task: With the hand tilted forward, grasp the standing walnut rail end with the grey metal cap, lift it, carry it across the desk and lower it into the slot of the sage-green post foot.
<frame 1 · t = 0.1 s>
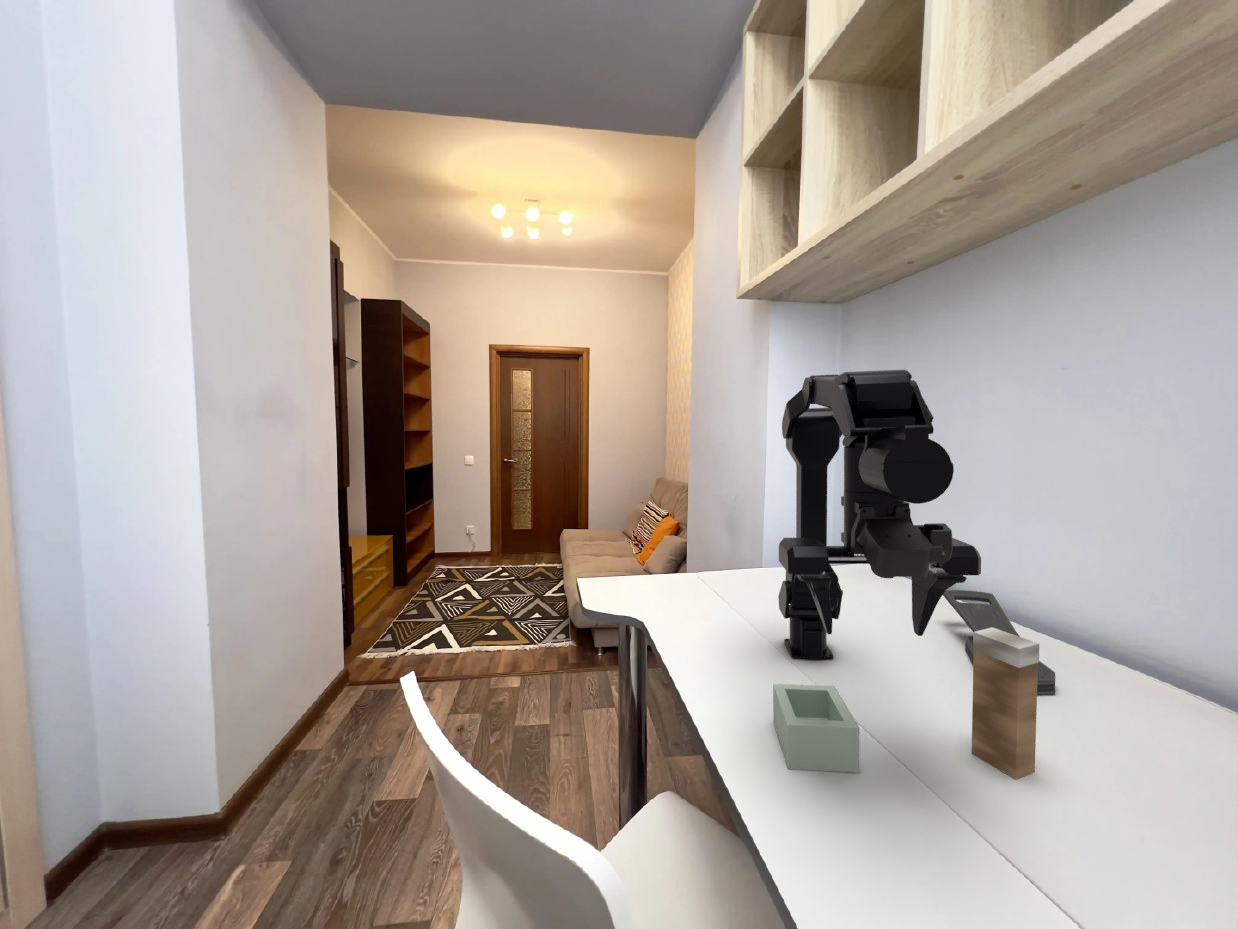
hand: (872, 633, 55), 15 cm above the table, tool pointing down, fingers open, 9 cm apart
post foot: (812, 745, 59), on the table
rail end: (1002, 762, 55), on the table
zipper pull: (991, 656, 80), on the table
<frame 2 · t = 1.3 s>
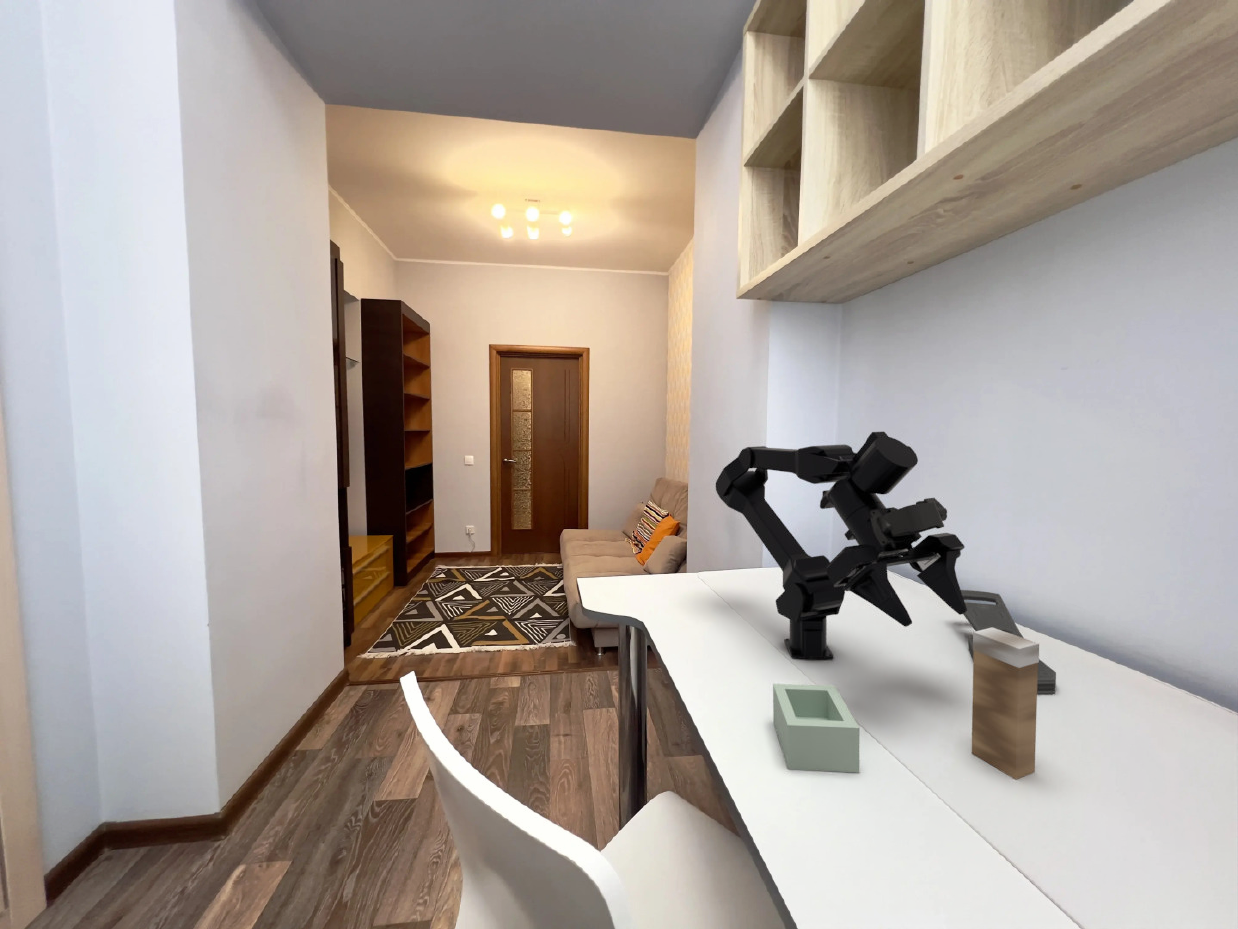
hand: (937, 618, 62), 13 cm above the table, tool tilted 45°, fingers open, 9 cm apart
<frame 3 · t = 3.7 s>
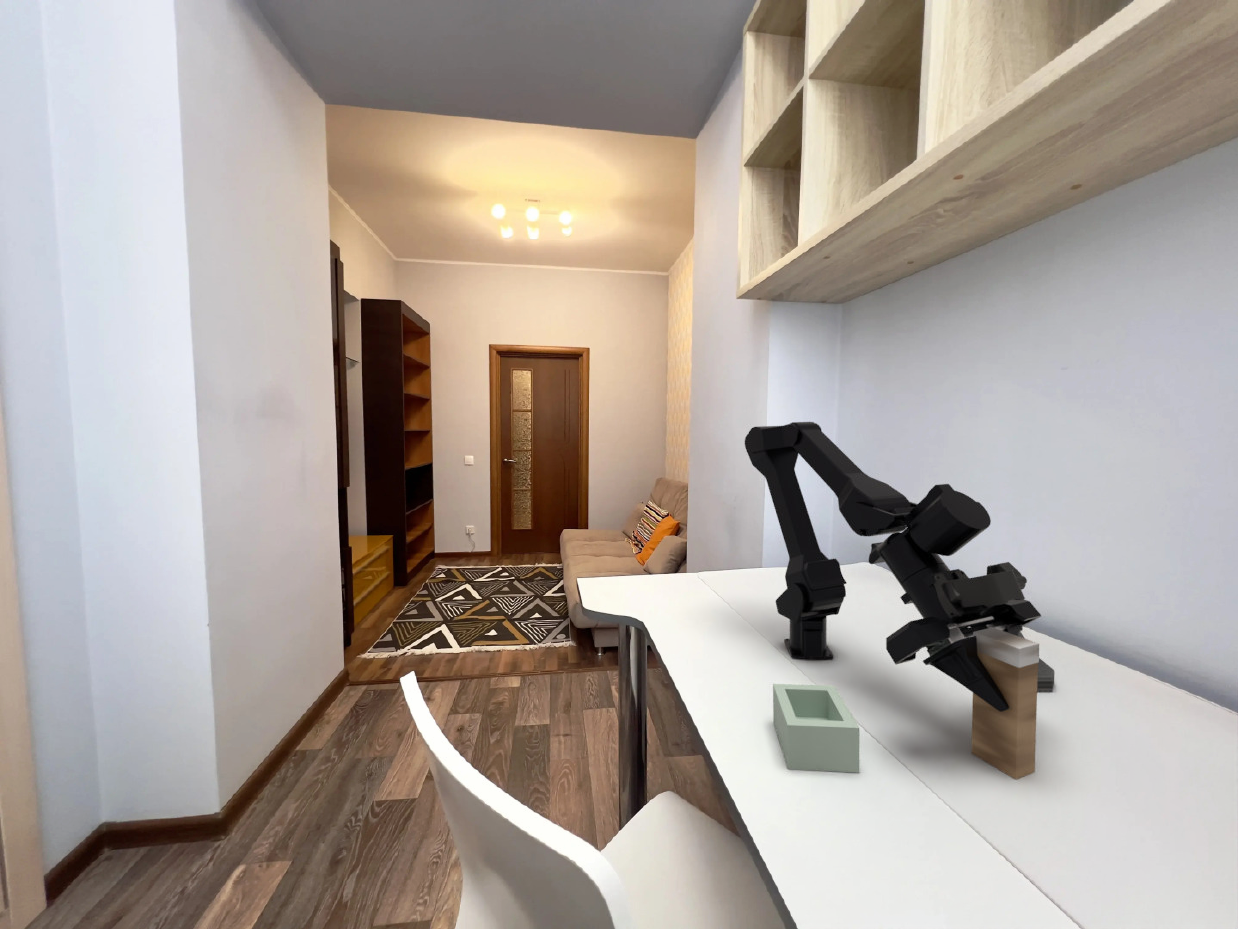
hand: (1017, 706, 53), 7 cm above the table, tool tilted 45°, fingers open, 4 cm apart
rail end: (1002, 762, 55), on the table, touching gripper
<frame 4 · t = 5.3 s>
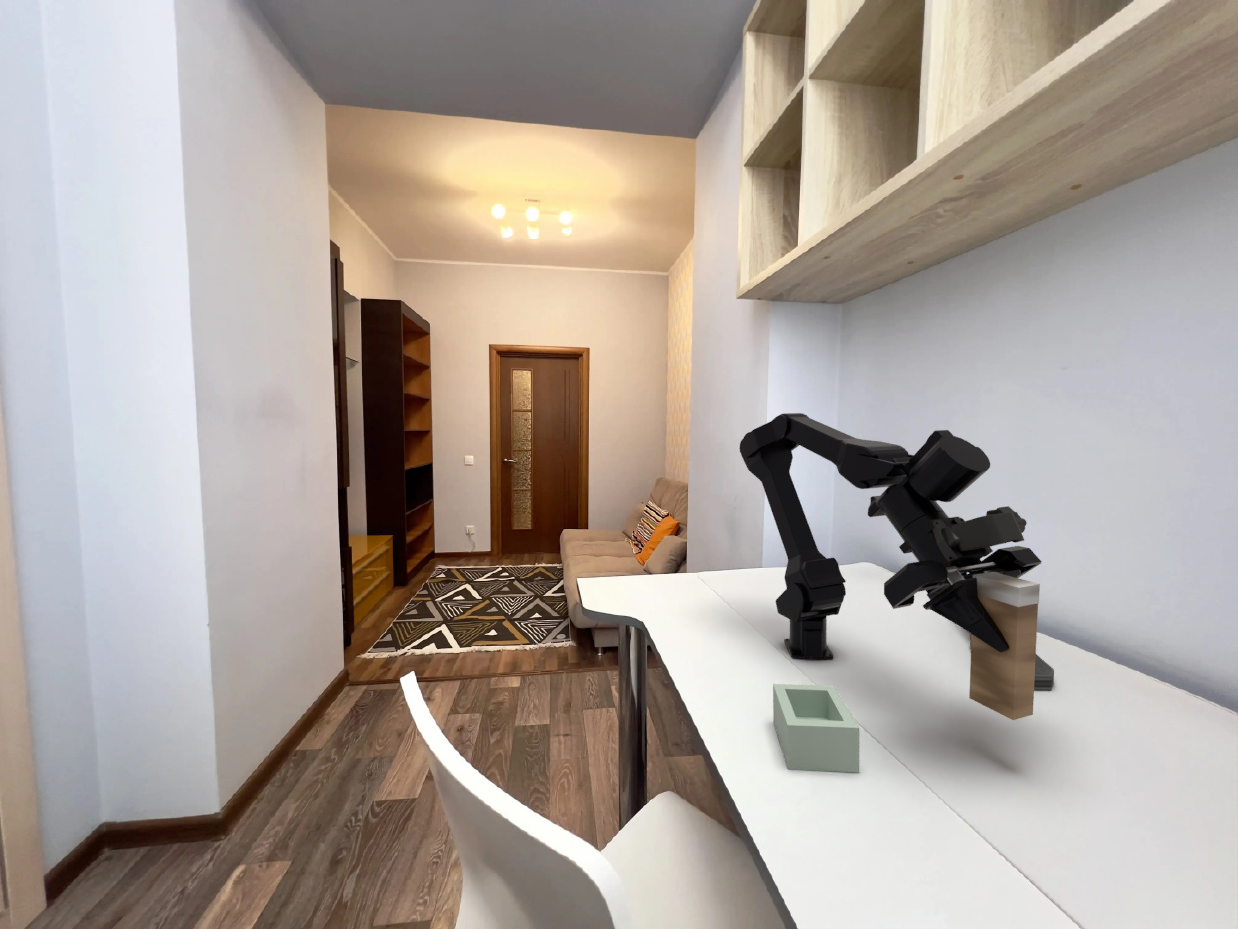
hand: (1016, 647, 53), 13 cm above the table, tool tilted 45°, fingers closed on rail end, 3 cm apart
rail end: (1000, 706, 55), point 6 cm above the table, touching gripper
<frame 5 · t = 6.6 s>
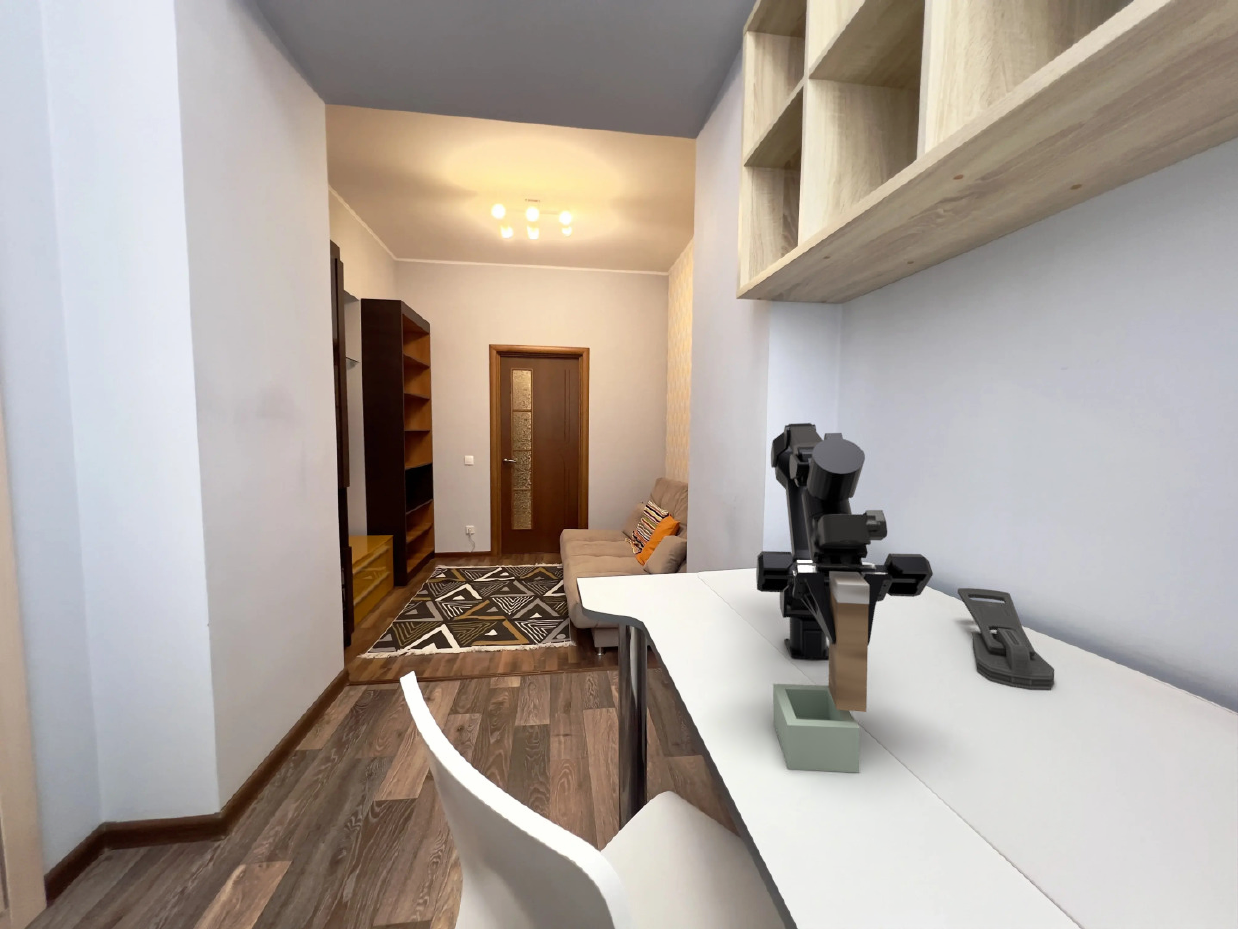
hand: (850, 643, 55), 13 cm above the table, tool tilted 45°, fingers closed on rail end, 3 cm apart
rail end: (846, 699, 57), point 6 cm above the table, touching gripper
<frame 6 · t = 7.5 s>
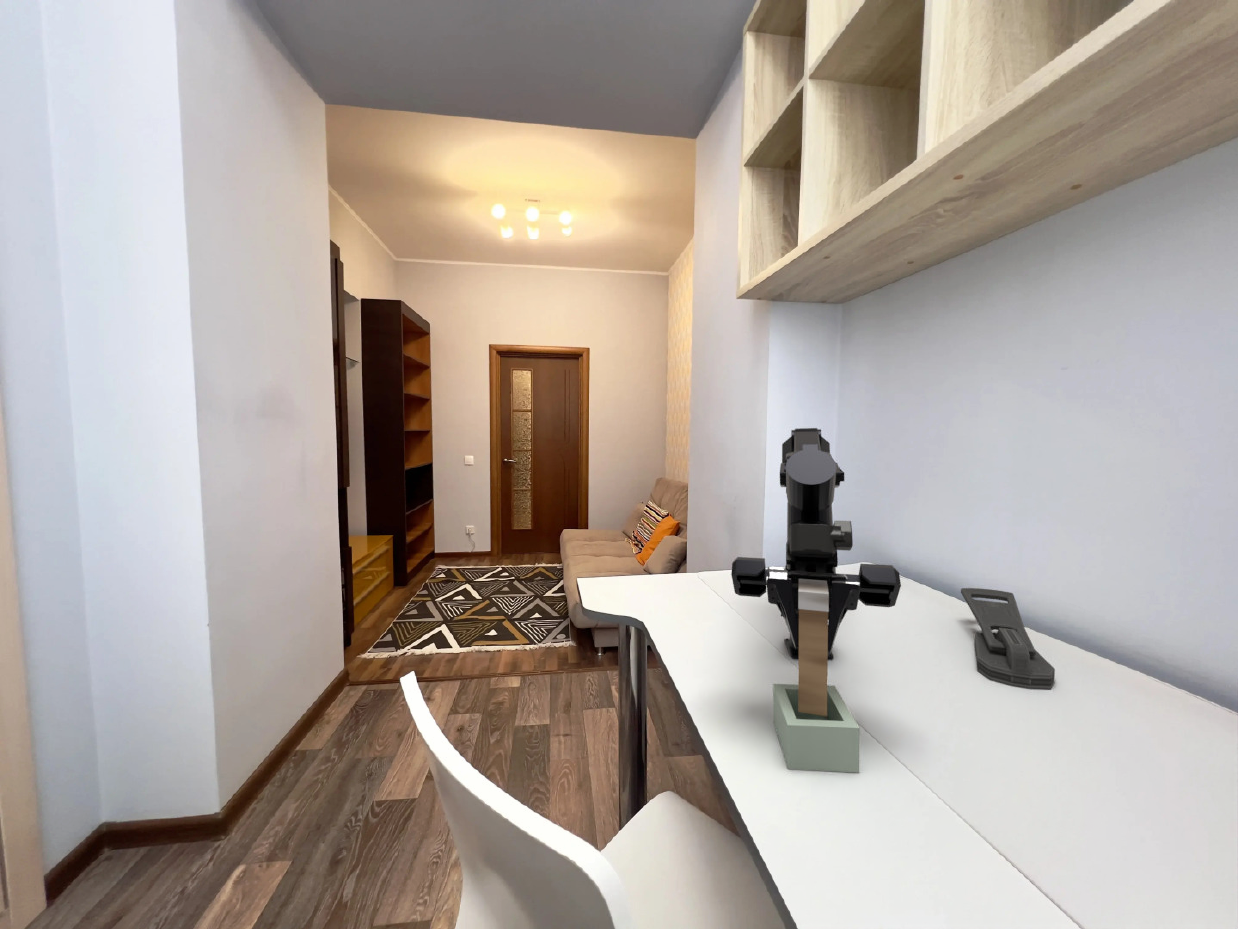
hand: (812, 649, 57), 12 cm above the table, tool tilted 45°, fingers closed on rail end, 3 cm apart
rail end: (812, 703, 59), point 5 cm above the table, touching gripper
when the fingers open (9 cm above the table, at t = 8.2 s): rail end stays where it is, resting on post foot.
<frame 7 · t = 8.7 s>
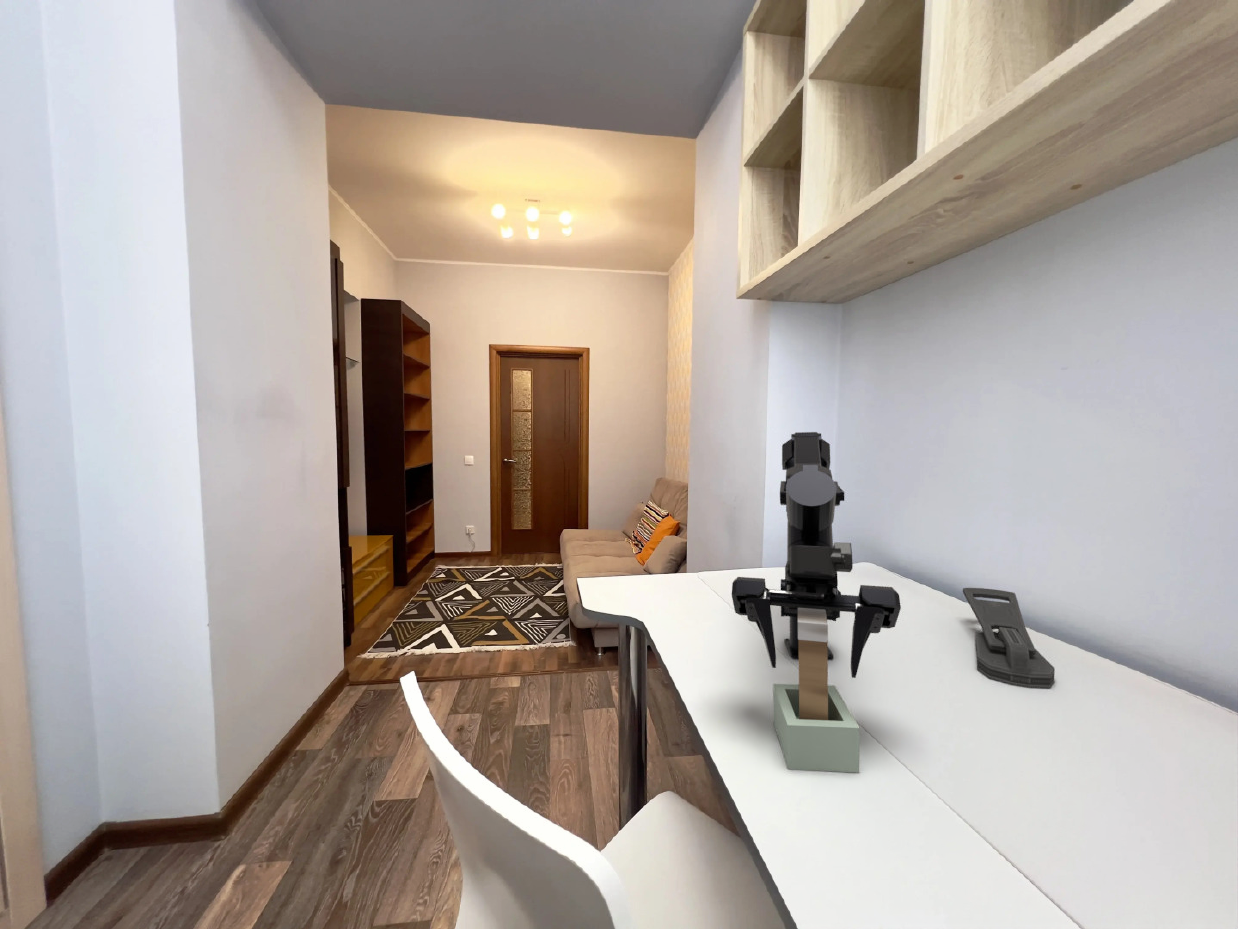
hand: (812, 671, 57), 10 cm above the table, tool tilted 45°, fingers open, 8 cm apart
rail end: (813, 733, 59), point 2 cm above the table, touching post foot
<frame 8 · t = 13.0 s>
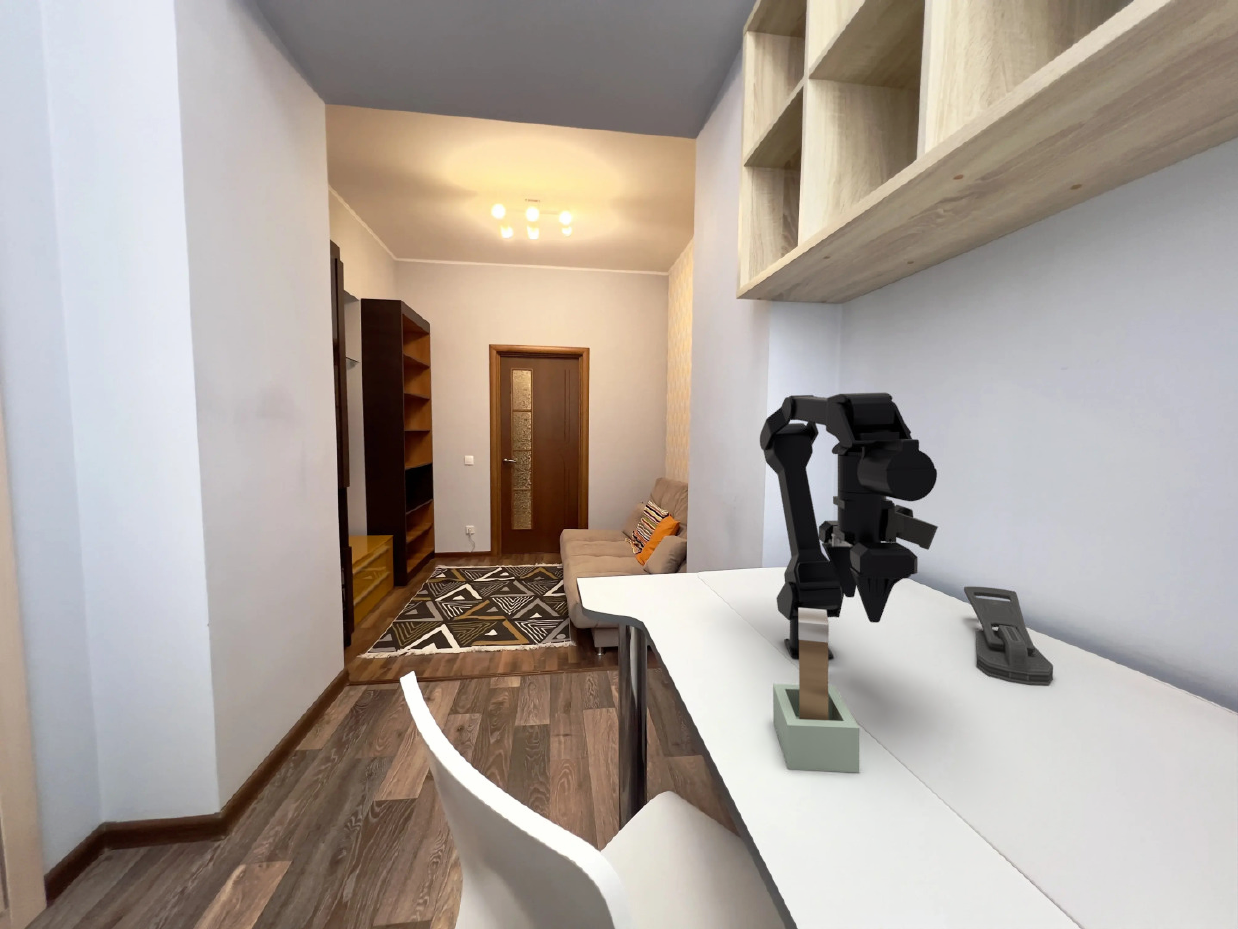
hand: (861, 608, 67), 13 cm above the table, tool pointing down, fingers open, 9 cm apart
at the end: rail end 0.1 cm off-centre on the post foot, point 1.5 cm above the post foot's base; rail end tilted 0°; the gripper is holding nothing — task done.
